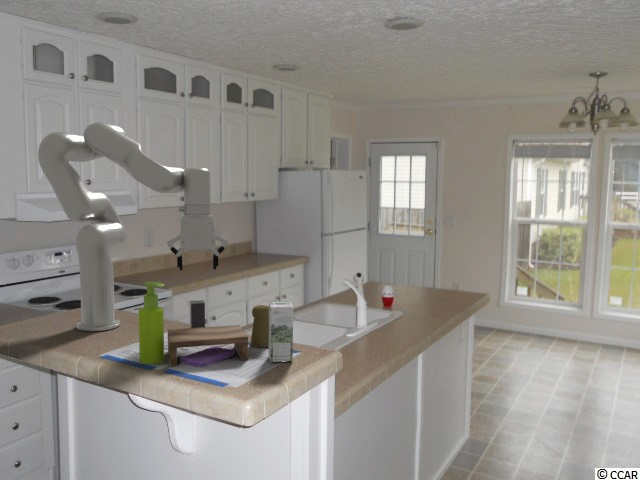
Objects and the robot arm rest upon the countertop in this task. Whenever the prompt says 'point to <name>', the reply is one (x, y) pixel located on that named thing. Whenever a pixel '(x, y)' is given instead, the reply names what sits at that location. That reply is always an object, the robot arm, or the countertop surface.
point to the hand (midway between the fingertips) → (197, 269)
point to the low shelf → (207, 339)
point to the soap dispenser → (151, 327)
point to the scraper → (197, 314)
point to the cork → (260, 326)
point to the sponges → (206, 356)
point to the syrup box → (280, 331)
